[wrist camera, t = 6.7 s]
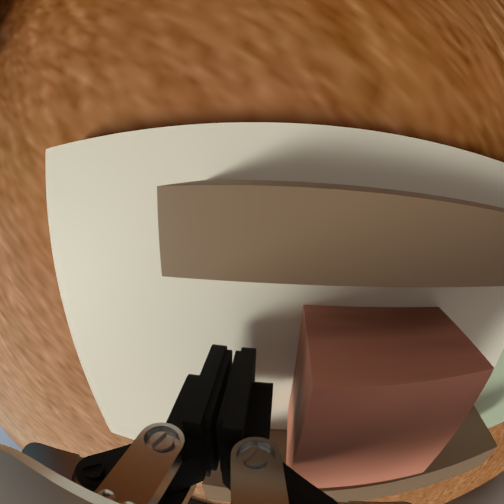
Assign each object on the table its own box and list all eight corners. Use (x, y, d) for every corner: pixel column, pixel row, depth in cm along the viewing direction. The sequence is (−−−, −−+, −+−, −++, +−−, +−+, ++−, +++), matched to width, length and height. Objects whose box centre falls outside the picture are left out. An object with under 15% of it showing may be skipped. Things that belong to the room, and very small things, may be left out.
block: (303, 304, 10) (313, 387, 6) (438, 306, 10) (494, 367, 5) (287, 411, 12) (285, 488, 8) (399, 407, 11) (422, 472, 7)
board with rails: (71, 149, 11) (-20, 151, 6) (570, 197, 8) (624, 213, 3) (122, 414, 16) (87, 471, 11) (503, 403, 13) (530, 445, 8)
